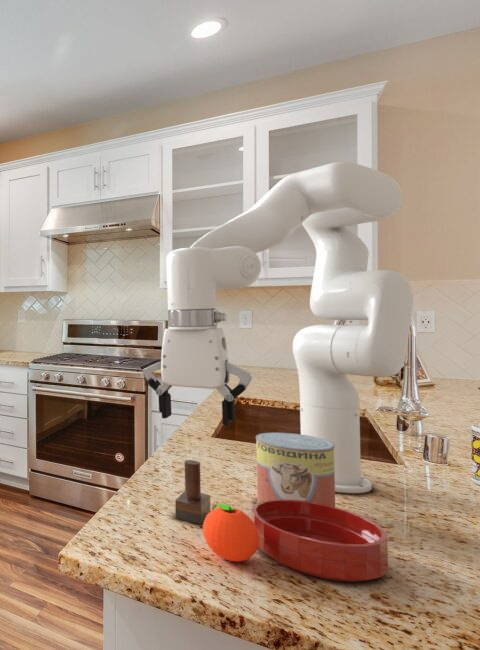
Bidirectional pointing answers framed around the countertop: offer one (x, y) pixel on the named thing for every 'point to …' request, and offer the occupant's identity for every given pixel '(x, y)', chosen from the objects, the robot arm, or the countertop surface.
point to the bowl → (321, 539)
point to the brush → (192, 496)
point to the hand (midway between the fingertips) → (195, 420)
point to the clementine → (230, 533)
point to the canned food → (295, 468)
